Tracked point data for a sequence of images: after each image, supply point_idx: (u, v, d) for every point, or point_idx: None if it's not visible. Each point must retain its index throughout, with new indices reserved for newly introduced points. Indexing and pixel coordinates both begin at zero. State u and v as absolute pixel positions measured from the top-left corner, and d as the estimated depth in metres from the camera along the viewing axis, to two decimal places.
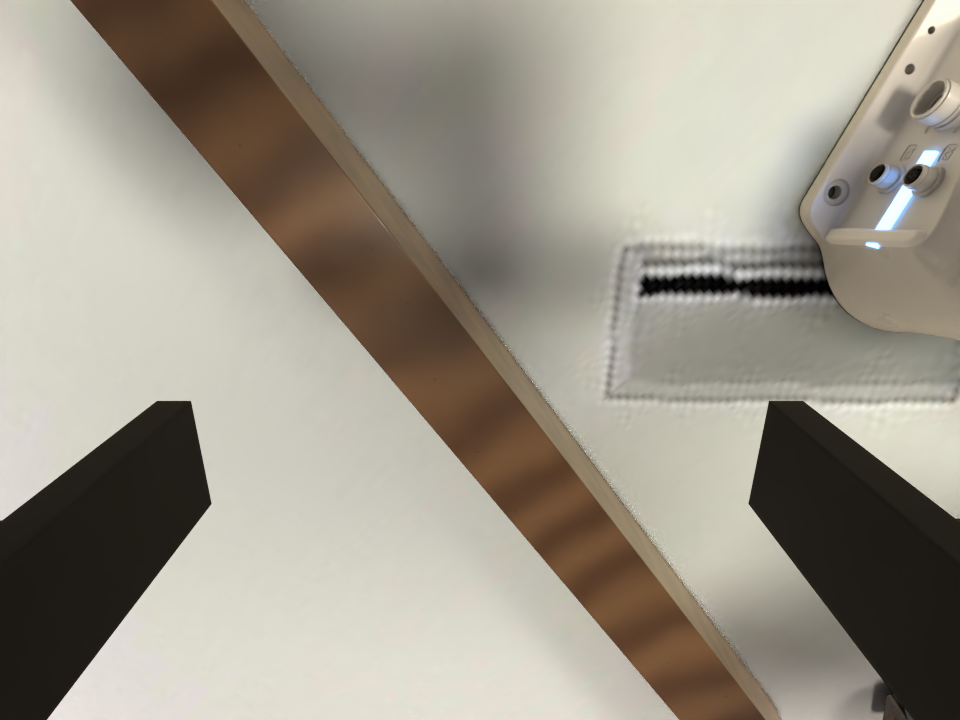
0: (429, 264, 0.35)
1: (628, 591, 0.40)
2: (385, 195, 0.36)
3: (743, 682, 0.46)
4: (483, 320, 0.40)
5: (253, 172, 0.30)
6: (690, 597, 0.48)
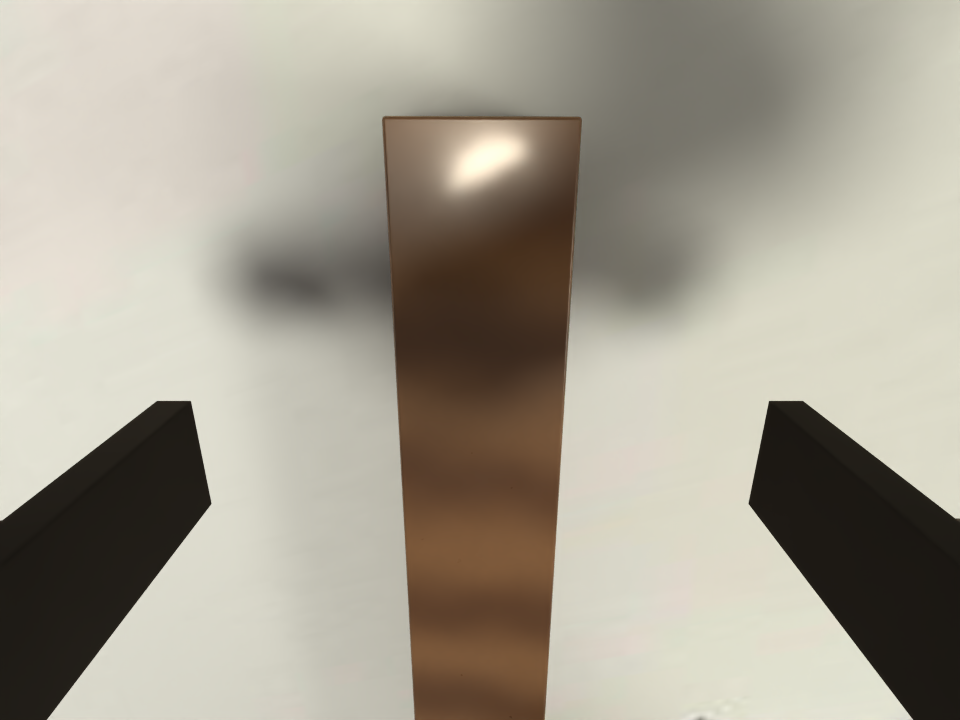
0: None
1: None
2: None
3: None
4: None
5: (450, 591, 0.21)
6: None
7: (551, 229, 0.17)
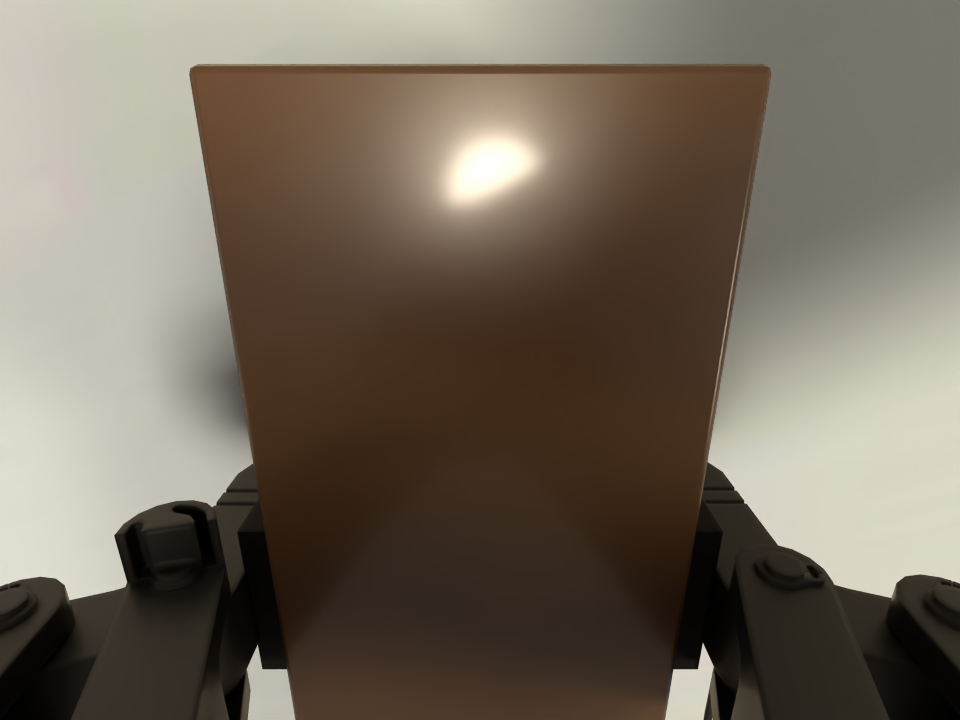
0: None
1: None
2: None
3: None
4: None
5: None
6: None
7: (662, 367, 0.06)
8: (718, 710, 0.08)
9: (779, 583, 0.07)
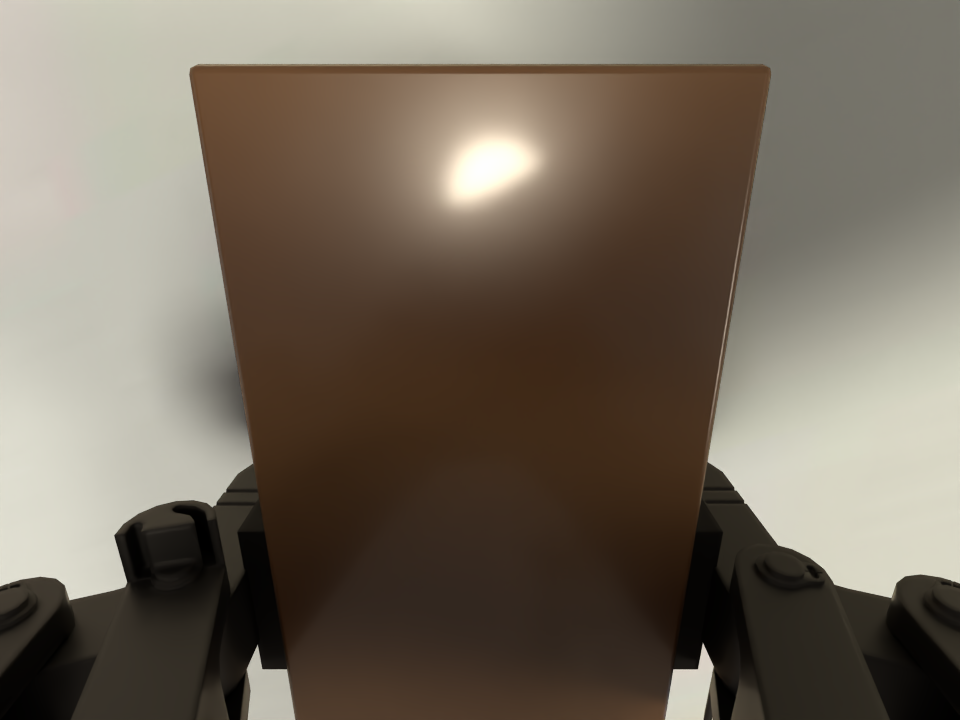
0: None
1: None
2: None
3: None
4: None
5: None
6: None
7: (663, 367, 0.06)
8: (718, 710, 0.08)
9: (779, 583, 0.07)
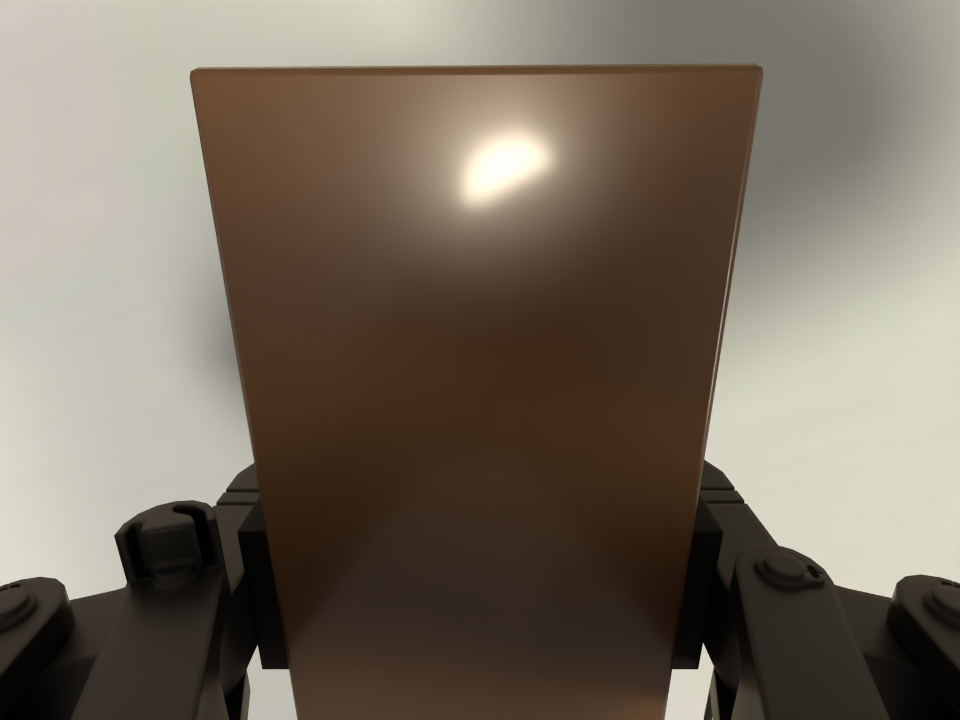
0: None
1: None
2: None
3: None
4: None
5: None
6: None
7: (658, 363, 0.06)
8: (718, 710, 0.08)
9: (779, 583, 0.07)
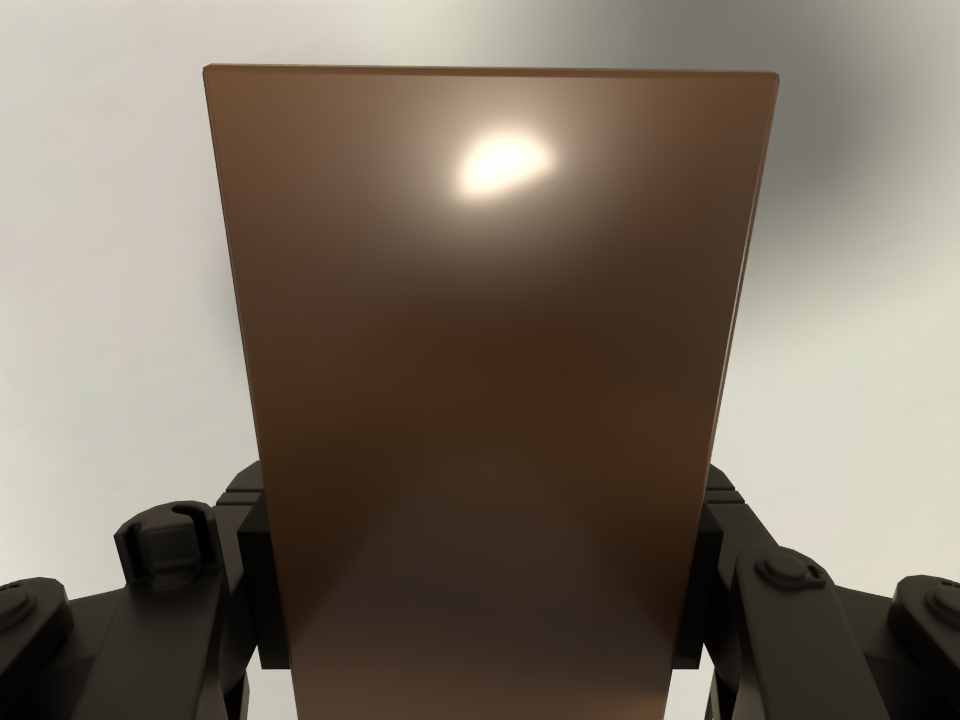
0: None
1: None
2: None
3: None
4: None
5: None
6: None
7: (667, 368, 0.06)
8: (719, 710, 0.08)
9: (780, 584, 0.07)
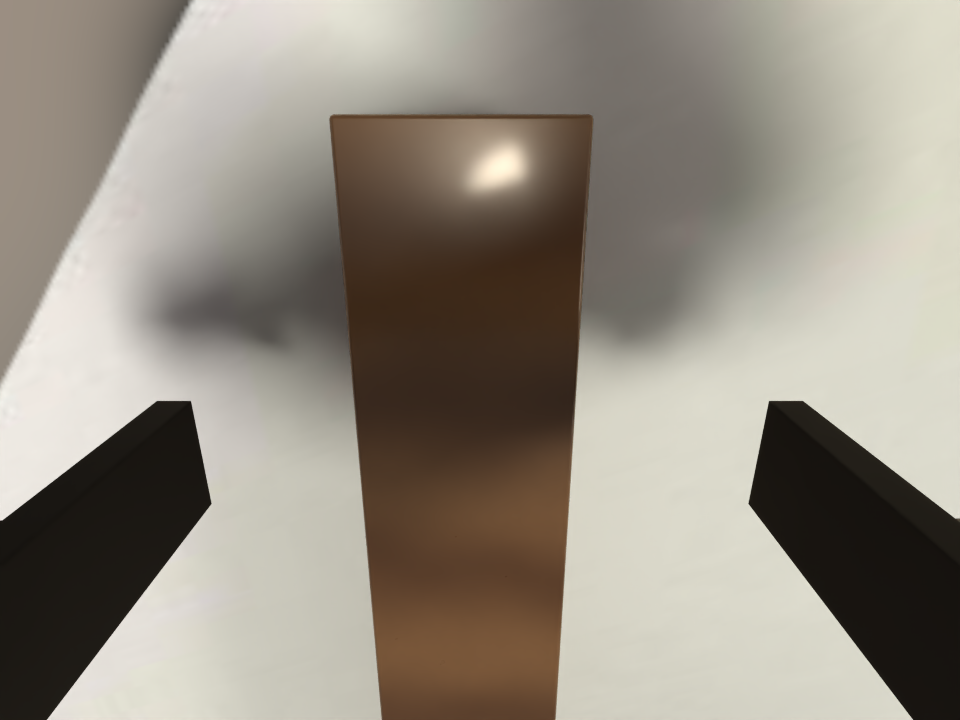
0: None
1: None
2: None
3: None
4: None
5: (432, 696, 0.17)
6: None
7: (553, 259, 0.13)
8: None
9: None
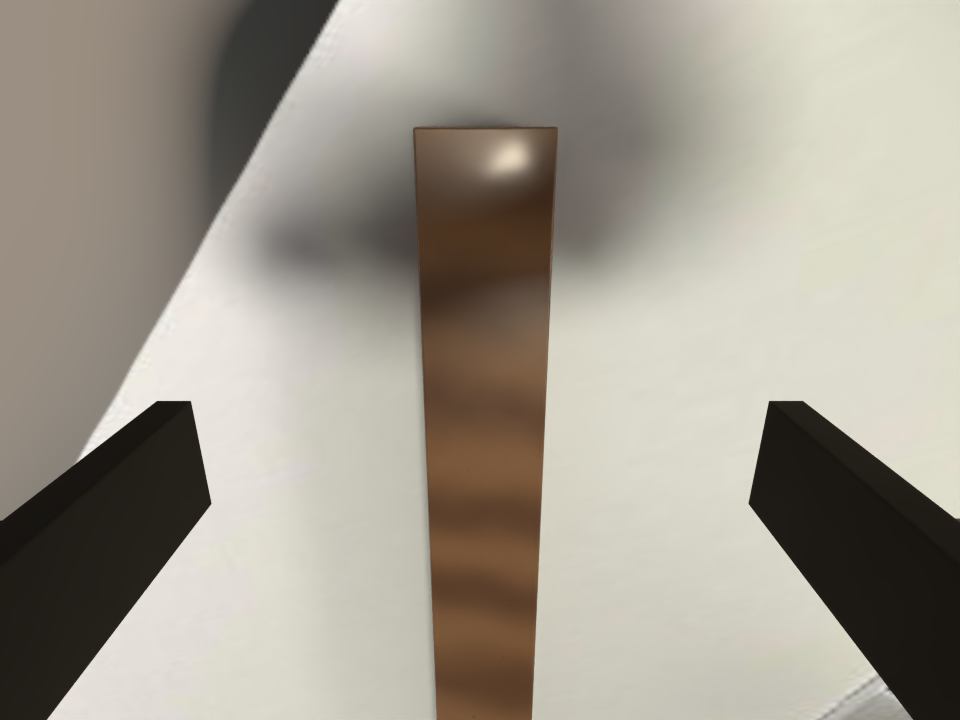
0: None
1: None
2: None
3: None
4: None
5: (461, 497, 0.27)
6: None
7: (536, 209, 0.22)
8: None
9: None
